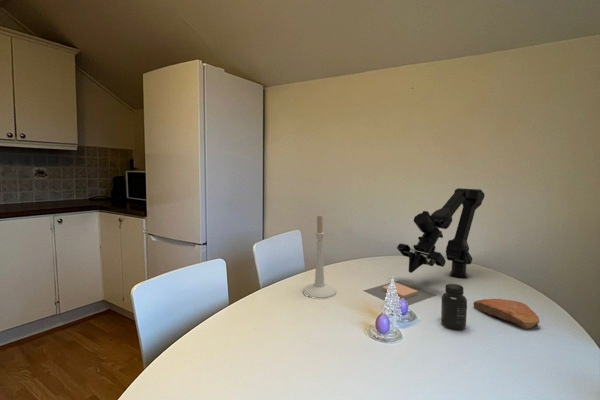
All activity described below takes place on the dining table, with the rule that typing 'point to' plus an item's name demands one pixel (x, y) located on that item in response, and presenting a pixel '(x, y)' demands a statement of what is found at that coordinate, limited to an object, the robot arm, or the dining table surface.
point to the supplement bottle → (454, 307)
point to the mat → (420, 297)
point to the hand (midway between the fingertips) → (409, 272)
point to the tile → (402, 291)
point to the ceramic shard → (509, 311)
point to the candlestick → (319, 270)
